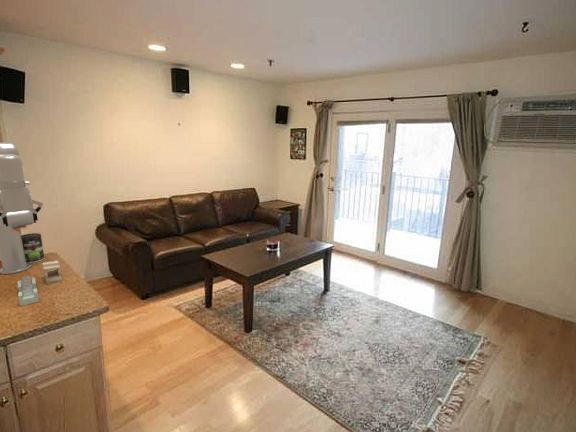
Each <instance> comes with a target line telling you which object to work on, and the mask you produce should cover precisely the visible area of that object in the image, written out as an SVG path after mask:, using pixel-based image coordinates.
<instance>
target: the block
mask: <svg viewBox="0 0 576 432" xmlns="http://www.w3.org/2000/svg"><path fill="white" fill-rule="evenodd" d="M41 264H42V265H41V266H42V269H43V270H42V271H43V274H44V280H45V283H46V285H49V284H54V283H57V282H58V283H59V282H63V276H62V271H61V265H60V262H59V260H58V259H56V260H51V261H45V262H42V263H41Z"/></svg>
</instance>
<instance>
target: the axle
mask: <svg viewBox="0 0 576 432" xmlns="http://www.w3.org/2000/svg"><path fill="white" fill-rule="evenodd" d="M31 282H32V278H31V275H26V276H25V275H24V276H21V284H22V287H23V294H24V297H25V296H29V295H33V291H32V285H31Z"/></svg>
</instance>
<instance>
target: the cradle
mask: <svg viewBox="0 0 576 432" xmlns="http://www.w3.org/2000/svg"><path fill="white" fill-rule="evenodd" d="M16 282H17V289H18V293H17V294H18V295H17V297H18V301H19V305H20V307H23V306H27V305H31V304H35V303H39V302H40V298H39V293H38V287H37V282H36V277H31V285H32V291H33V295H29V296H25V297H24V294H23V287H22V280H17V281H16Z"/></svg>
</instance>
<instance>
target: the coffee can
mask: <svg viewBox="0 0 576 432" xmlns="http://www.w3.org/2000/svg"><path fill="white" fill-rule="evenodd" d="M20 235H21V238H22V243H23V248H24V254H25V259H26V263H30V264H36V263H39V262H41V261H43V260H45V259H46V257H45V253H44V247H43V240H42V239H43V238H42V234H41V233H36V232H35V233H34V232H33V233H24V234H20Z"/></svg>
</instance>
